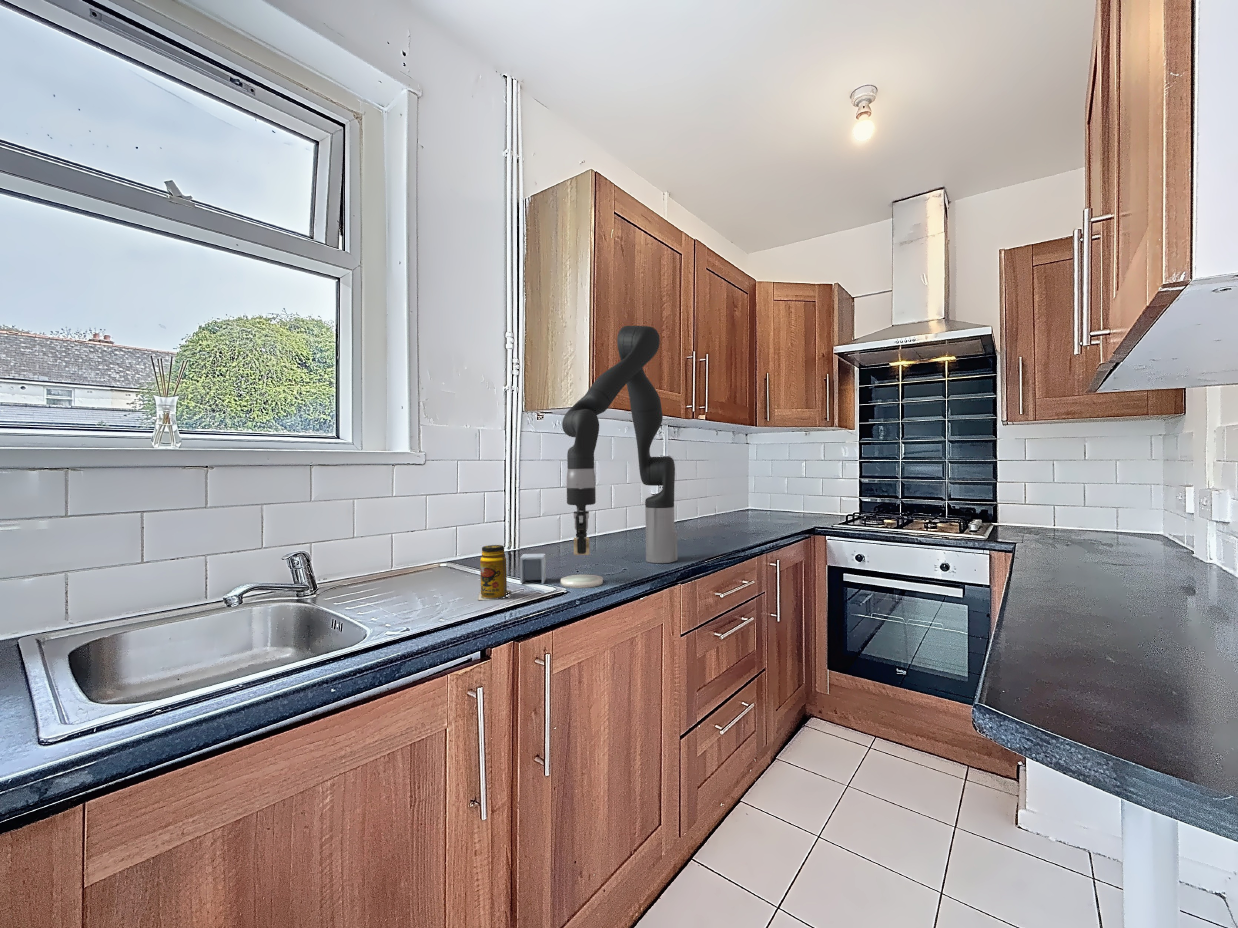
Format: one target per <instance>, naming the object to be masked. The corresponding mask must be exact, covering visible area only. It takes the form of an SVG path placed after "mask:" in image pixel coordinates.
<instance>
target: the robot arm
mask: <svg viewBox="0 0 1238 928" xmlns="http://www.w3.org/2000/svg"><path fill="white" fill-rule="evenodd" d="M616 341H617V342H616V344H617V350H618V351H617V352H618V355H619V358H620V360H619V362H618V363H615V365H613V366H612V367H609V368H607V370H606V371H604V372H602V373H601V374H600V375H599V376H598V377H597V378H596V379H595V381H594V382H593V383H592V384H591V386H590V387H589V389H588V390H587V391H586V393H585V394H584V395H583V396H582V397H581V398H580V399H579V400H578V401H577V402H575V404H573V406H571V407H570V408H569V409H568V411H567V412H566V413H565V414H564V417H563V418H562V421H561V426H562V431H563V433H564V434H565V435H566V436H568V437H571V438H574V442H573V445H572V446H570V447H569V448H568V450H567V463H566V464H567V467H566V468H567V472H566V504H567V505H569V506H576V511H575V510H574V511H573V519H574V530H575V531H576V532H575V538H577V552H578V554H585V553H586V537H588V536H587V535H588V533H587V532H588V529H589V518H590V511H589V510H588V511H587V508H586V506H592V505H595V504H596V502H597V501H596V499H597V498H596V495H597V493H596V475H595V474H596V473H595V451H596V447H597V442H598V437H599V432H600V421H599V418H598V416H599V415H600V414H602V413H604V412H606V411H607V410H608V408H609V407H610V406H611V404H612V403H613V402H614V400H615V398H616V397H617V396H618V395H619V393H620V392H621V390H622V389H623V388H624V387H625V386H626V388H627V392H628V393H627V394H628V398H629V404H630V405H629V407H630V412H631V417H632V418H631V419H632V423H633V428H634V433H635V439H636V446H637V447H636V448H637V457H638V471H639V476H640V480H641V482H642V484H643V485H645V486H649V487H650V486H653V487H654V486H660V487H661V486H662V489H661V490H660V492H658V493H656V494H654V495H651V496H648V497H647V498H645V501H644V502H645V503H644V505H645V509H644V510H645V514H644V515H645V517H644V518H645V561H646V562H648V563H651V564H653V563H654V564H667V563H674V562H676V561H678V531H677V530H676V529H675V483H676V482H675V479H676V466H675V465H676V463H675V460H674V458H673V457H671V456H651V452H650V449H651V445H652V442H653V441H654V439H655V438H656V435H657V433H658V431H659V429H660V427H661V425H662V422H663V420H664V419H663V409H662V403H661V397H660V395H659V393H658V392H657V390H656V388H655V386H654V385H653V384H652V382H651V381H650V379H649V378H648V377H647V374H646V373H645V371H644V366H646V365H647V364H648V363H649V362H650V361H651V360H652V359H653V358H654V356H656V354H657V353H658V350H659V349H660V345H661V338H660V334H659V332H658V330H657V329H656V328H654V326H653V327H652V326H648V325H624V326H622V327H621V328H620V329H619V331H618V334H617V339H616Z"/></svg>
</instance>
